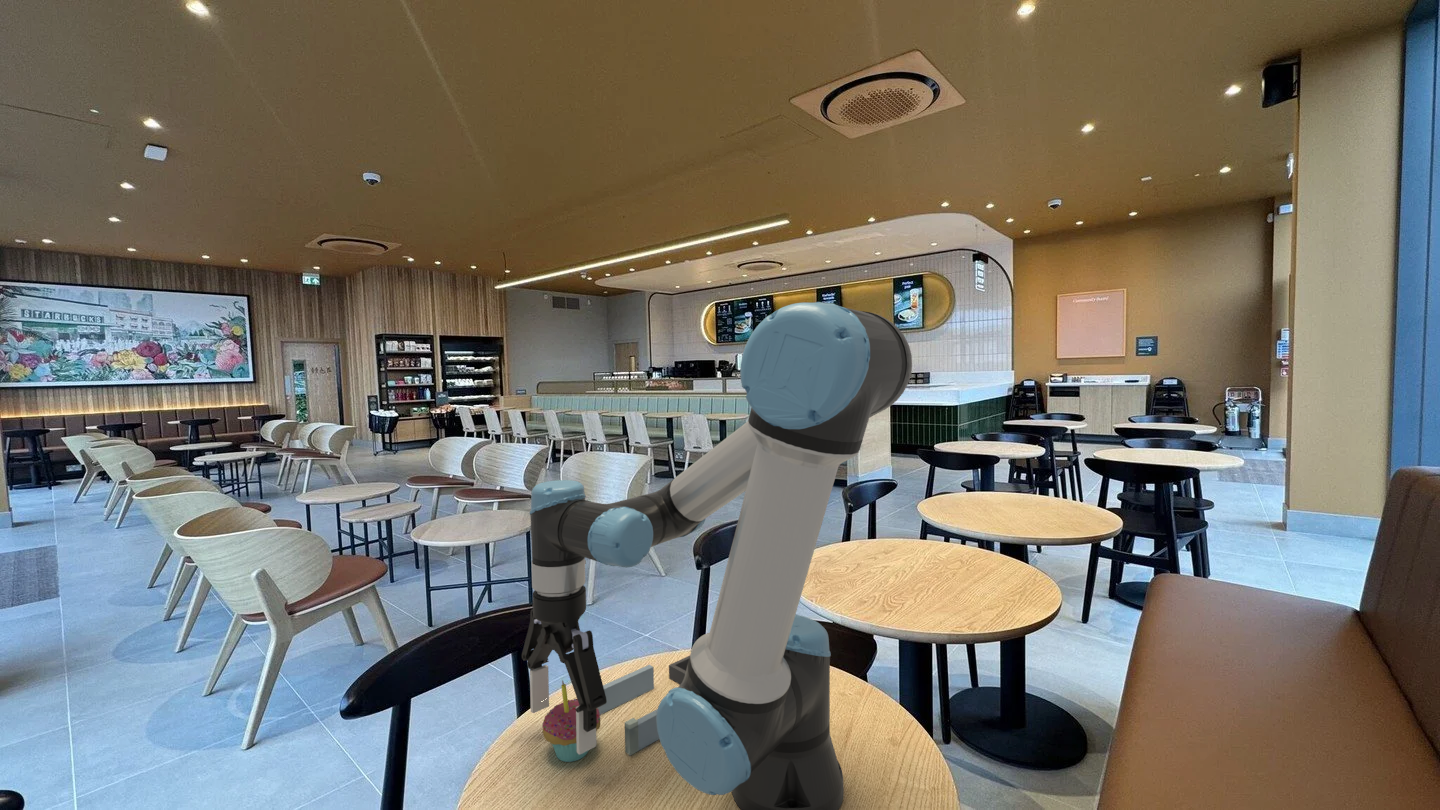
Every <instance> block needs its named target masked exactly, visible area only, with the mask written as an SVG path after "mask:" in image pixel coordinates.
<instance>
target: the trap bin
mask: <svg viewBox="0 0 1440 810" xmlns="http://www.w3.org/2000/svg"><path fill="white" fill-rule="evenodd" d="M689 658H690V655H688V656H686V657H683V658H681V659H679V660H677V661H674V662H673V663H671V664H669V665H668V679H669V680H672V681H673V682H675V683H677V684H678V685H679V686H680V685H681V683H682V682H683V680H684V677H685V673H686V669H687V665H688V661H689Z"/></svg>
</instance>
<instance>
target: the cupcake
mask: <svg viewBox="0 0 1440 810" xmlns="http://www.w3.org/2000/svg"><path fill="white" fill-rule="evenodd" d="M561 695H562V702H561V703H559V704H557V705H554V707H553V708H552V709H550V710H549V711H548V712H547V713H546V715H545V716H544V719H543V722H542V724H541V725H542V734H543V737H544V739H545V740H546V741H547V742H549V743H550V744H551V745H552V747H553V750H554V752H555V755H556V757H557V759H558V760H559V761H562V762H565V763H570V762H575V761H579V760H581V759H583V758H584V757H586V755H588V753H589V751H590V750H588V751H586V752H584V753H582V754H580V755H579V754H578V753H577V741H576V710H575V709H576V707H577V706H579V702H578V700H577V698H574V699H568V691H567V685H566V684H565V683H564V680H561ZM600 727H601V715H600V713H599V710H598V709H597V726H596V732H598V731H599V729H600Z"/></svg>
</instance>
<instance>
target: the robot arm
mask: <svg viewBox="0 0 1440 810" xmlns="http://www.w3.org/2000/svg"><path fill="white" fill-rule="evenodd" d="M912 370H913V355H912V351H911V346H910V345H909V342H908V341H907V339H906V336H905V335H904V334H903V332H902V331H901V330H900V328H899V327H897V326H896V324H895V323H893V322H892V321H890V320H889V319H887V318H886V317H884V316H882V315H880V314H878V313H874V312H871V311H864V310H857V309H853V308H848V307H843V306H840V305H837V304H835V303H832V302H831V303H828V302H821V301H816V302H797V303H791V304H788V305H785V306H782V307H781V308H779V309H777V310H775V311H774V312H773V313H771V314H769V315H767V316H766V317H765V318H763V320H762V321H761V322H760V323H759V324H758V325H756V327H755V329H754V330H753V331H752V333H751V334H750V336H749V338H748V340H747V342H746V343H745V347H744V348H743V353H742V357H741V361H740V374H739V375H740V382H741V387H742V388H743V390H745V392H746V396H745V398H746V401H747V402H748V405H749V406H750V413H749V415H748V420H747V421H746V422H745V423H743V425H741V426H740V427H739V428H737V429H736V430H734V431H733V432H732V433H731V434H729V435H728V436H727V437H725V438H724V439H723V440H722V441H720V442H719V443H717V445H715V446H714V447H713V448H711V449H710V450H709V451H707V453H705V454H704V455H702V456H701V457H700V458H699V459H697V460H696V461H694V462H693V463H692V464H690V465H689V466H688V467H687V468H686V469H684V470H682V472H680V473H679V474H678V475H677V476H676V477H674V479H672V480H671V481H670V482H668V483H666V484H665V485H664V486H663V487H661V488H660V489H658V490H657V491H653V492H651V493H647V494H643V495H640V496H636V497H631V498H627V499H622V500H619V501H615V502H612V503H610V502H609V503H600V502H594V501H590V500H586V494H585V493H586V492H585V486H584V484H583V483H581V482H580V481H577V480H572V479H571V480H569V479H563V480H562V479H560V480H557V479H556V480H550V481H549V480H548V481H544V482H540V483H538V484H536V485H535V486H534V487H532V490H531V496H530V497H531V498H530V499H531V501H530V511H529V515H530V536H531V537H530V538H531V541H530V542H531V543H530V544H531V556H532V557H531V588H532V589H533V590H534V591H533V592H532V609H531V610H530V614H529V615H530V617H529V625H528V629H527V633H526V636H525V640H524V644H523V647H522V648H523V649H522V652H521V660H523V662H525V661H527V662H526V664H527V665H526V666H527V668H528V669H529V688H530V689H529V691H530V697H529V698H530V701H529V702H530V712H531V713H532V714H535V713H537V712H540V711H542V710H545V709H546V708H549V707H550V689H549V688H550V685H549V683H550V682H549V678H550V677H549V665H547V664H546V663H549V662H550V660H549V656H550V655H551V653H552V651H554V652H555V653H556V654H557V656H558V659H559V661H560V663H562V664H564V665H565V669H566V671H567V673H568V676H569V679H570V683H571V685H572V688H573V691H574V693H575V696H576V699H577V700H578V702H579V706H577V707H576V709H575V710H576V741H577V753H578V754H579V755H580V754H582V753H584V752H586V751H588V750H589V751H590V750H592V749H594V748H595V747H597V731H596V726H597V708H598V707H600V706H602V705H604V704H606V703H607V700H606V695H605V691H604V687H603V685H604V684H603V680H602V675H601V672H600V668H599V664H598V660H597V659H598V658H597V656H596V653H595V649H594V637H593V636H594V635H593V633H592V630H586V631H581V627H580V624H579V620H580V618H581V617H582V616H583V615H584V614H585V612H586V609H587V589H586V586H585V584H586V564H587V560H586V559H589V560H593V561H595V562H598V563H600V564H603V565H605V566H609V567H618V568H633V567H635V566H637V565H639V564H640V563H641V562H642V560H643V559H644V558H645V557H646V556H647V555H648V554H649V552H650V550H651V548H653V547H655V546H658V545H660V544H663V543H666V542H669V541H672V540H674V539H675V540H676V539H678V538H683V537H686V536H688V535H690V534H692V533H693V532H696V531H698V530H700V528H701V527H703V525H704V524H705V521H706V519H707V518H708V517H710V516H712V514H714V513H715V512H717V511H718V510H720V509H721V508H723V507H724V506H726V505H727V504H728V503H730V502H731V501H733V500H735V499H736V498H738V497H739V496H741V495H743V493H744V496H743V500H742V503H741V509H740V511H739V516H738V520H737V523H736V528H735V532H734V535H733V539H732V543H731V547H730V551H729V555H728V560H727V563H726V566H725V571H724V575H723V578H722V583H721V586H720V591H719V594H718V599H717V603H716V606H715V610H714V614H713V618H712V621H711V625H710V629H709V632H707V633H705V634H703V635H701V636H700V637H698V639H696V640H695V642H694V644H693V645H692V648H691V650H690V654H689V656H690V658H689V661H688V665H687V669H686V673H685V677H684V680H683V682H682V683H681V685H680V684H679V686H677V687H673V688H671V689H670V690H669V691H668V692H667V694H666V695H664V697H663V698H662V699H661V700H660V703H659V705H658V706H657V709H658V710H657V709H656V710H657V717H656V723H657V731H658V735H659V742H660V745H661V747H662V749H663V750H664V753H665V756H666V757H667V759H668V760H669V763H670V764H671V765H672V767H673V768H674V770H675V771H676V772H677V774H679V776H681V778H682V779H683V780H684V781H685V782H687V784H689V785H690V786H691V787H693V788H694V789H696V790H697V791H699V792H702V793H703V794H707V795H711V796H716V795H719V796H723V795H728V794H729V793H731V795H732V798H733V799H734V801H735V804H736V805H737V806H738V807H739V809H740V810H839V809H840V807H841V806H842V803H843V800H844V776H843V775H844V774H843V769H842V767H841V764H840V762H839V760H838V758H837V755H836V751H835V748H834V744H833V741H832V737H831V731H830V730H831V727H830V723H831V721H830V719H831V717H830V716H831V713H830V710H831V708H830V706H831V704H830V703H831V702H830V700H831V699H830V696H831V694H830V691H831V689H830V687H831V686H830V684H831V682H830V681H831V680H830V679H831V678H830V677H831V673H830V672H831V671H830V669H831V668H830V667H831V663H830V662H831V656H832V655H831V654H832V653H831V651H830V642H829V640H830V639H829V634H828V632H827V630H826V629H825V627H824V626H822V624H821V623H819V622H818V621H817V620H815V619H811V618H809V617H806V616H803V615H799V614H796V613H797V611H798V607H799V604H800V600H801V597H802V593H803V590H804V586H805V583H806V579H807V577H808V572H809V569H810V567H811V563H812V559H813V555H814V552H815V548H816V546H817V542H818V538H819V535H820V532H821V528H822V525H823V521H824V518H825V515H826V512H827V507H828V505H829V504H828V503H829V501H830V496H831V493H832V490H833V487H834V483H835V480H836V475H837V473H838V469H839V466H840V465H841V464H842V463H845V462H846V461H848V460H851V459H853V458H854V457H857V456H858V455H859V453H860V450H861V448H862V443H863V440H864V437H865V434H866V433H865V432H866V430H867V426H868V423H869V420H870V418H872V417H873V416H876V415H877V414H878V413H881V412H883V411H885V410H886V409H888V408H890V407H891V406H893V404H895V403H896V402H897V401H898V400H899V399H900V397H901V396H902V395H903V394H904V392H905V390H906V389H907V387H908V385H909V382H910V378H911V376H912V372H913V371H912ZM546 698H547V699H546ZM545 699H546V700H545ZM543 700H544V701H543ZM541 701H543V702H541ZM589 751H588V752H589Z"/></svg>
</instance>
